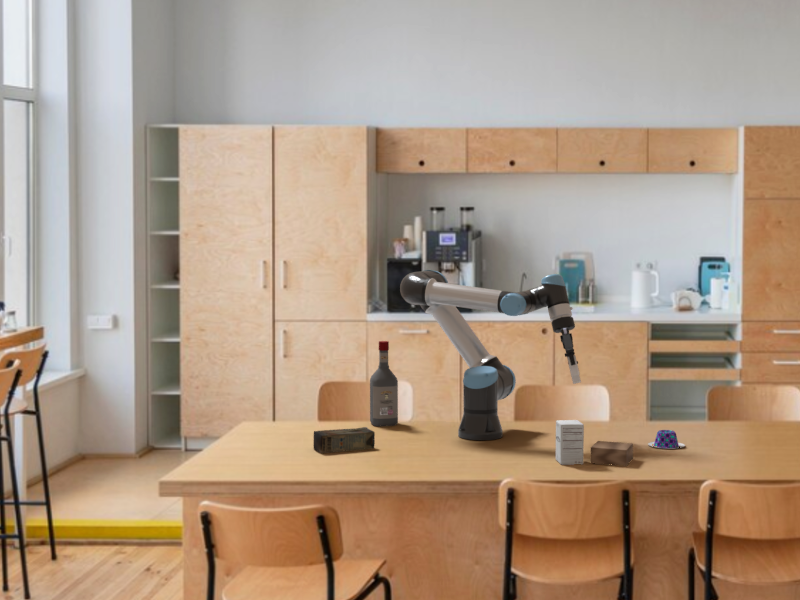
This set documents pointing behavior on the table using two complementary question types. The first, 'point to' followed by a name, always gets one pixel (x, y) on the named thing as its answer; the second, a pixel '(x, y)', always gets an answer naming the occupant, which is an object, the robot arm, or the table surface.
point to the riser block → (611, 453)
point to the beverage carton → (344, 440)
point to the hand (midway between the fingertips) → (576, 379)
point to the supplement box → (569, 442)
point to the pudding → (666, 440)
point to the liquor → (383, 392)
